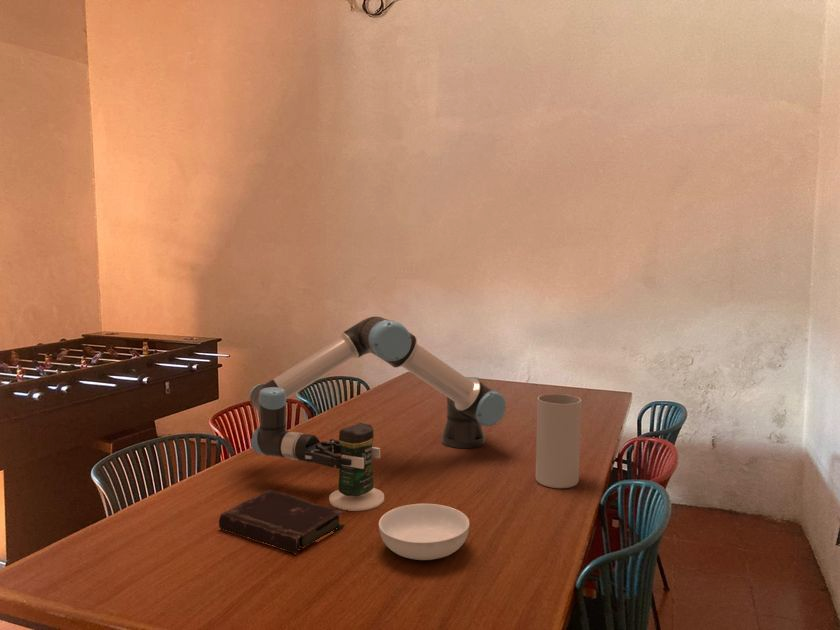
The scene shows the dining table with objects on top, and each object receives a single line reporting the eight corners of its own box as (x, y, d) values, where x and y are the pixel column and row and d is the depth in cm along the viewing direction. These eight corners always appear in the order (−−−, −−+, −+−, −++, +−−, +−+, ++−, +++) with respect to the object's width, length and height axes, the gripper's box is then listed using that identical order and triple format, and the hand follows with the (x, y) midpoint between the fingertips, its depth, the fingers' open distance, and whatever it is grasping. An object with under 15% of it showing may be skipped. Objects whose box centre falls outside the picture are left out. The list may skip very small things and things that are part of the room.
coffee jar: (356, 500, 176) (356, 432, 174) (333, 493, 180) (333, 427, 178) (378, 488, 184) (378, 423, 182) (356, 482, 188) (356, 418, 186)
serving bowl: (377, 531, 163) (377, 504, 163) (462, 528, 165) (462, 502, 164) (379, 573, 143) (379, 543, 142) (476, 570, 144) (476, 540, 144)
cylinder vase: (580, 476, 201) (583, 395, 198) (576, 491, 189) (578, 405, 186) (539, 472, 205) (541, 392, 202) (532, 486, 193) (534, 402, 190)
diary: (295, 559, 150) (295, 538, 150) (219, 533, 163) (218, 513, 163) (346, 527, 166) (346, 508, 166) (272, 506, 179) (272, 488, 179)
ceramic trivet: (385, 489, 190) (385, 486, 190) (382, 511, 175) (382, 507, 175) (332, 489, 190) (332, 486, 190) (325, 510, 175) (325, 507, 175)
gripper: (321, 449, 199) (389, 459, 189) (278, 471, 179) (351, 484, 170) (321, 424, 198) (389, 434, 188) (278, 444, 178) (351, 456, 169)
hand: (371, 458), depth 179 cm, fingers closed on coffee jar, 8 cm apart
